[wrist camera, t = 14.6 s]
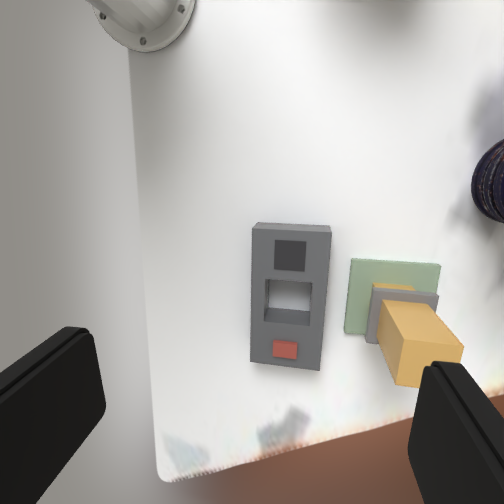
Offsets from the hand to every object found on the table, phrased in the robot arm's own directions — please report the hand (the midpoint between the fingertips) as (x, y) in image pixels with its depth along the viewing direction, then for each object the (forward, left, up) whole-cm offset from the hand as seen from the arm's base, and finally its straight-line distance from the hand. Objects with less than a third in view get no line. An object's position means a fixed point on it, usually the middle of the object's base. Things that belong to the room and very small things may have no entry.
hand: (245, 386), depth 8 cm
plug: (+10, +12, -30) cm, 34 cm away
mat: (+10, +12, -31) cm, 34 cm away
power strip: (+10, 0, -31) cm, 32 cm away
